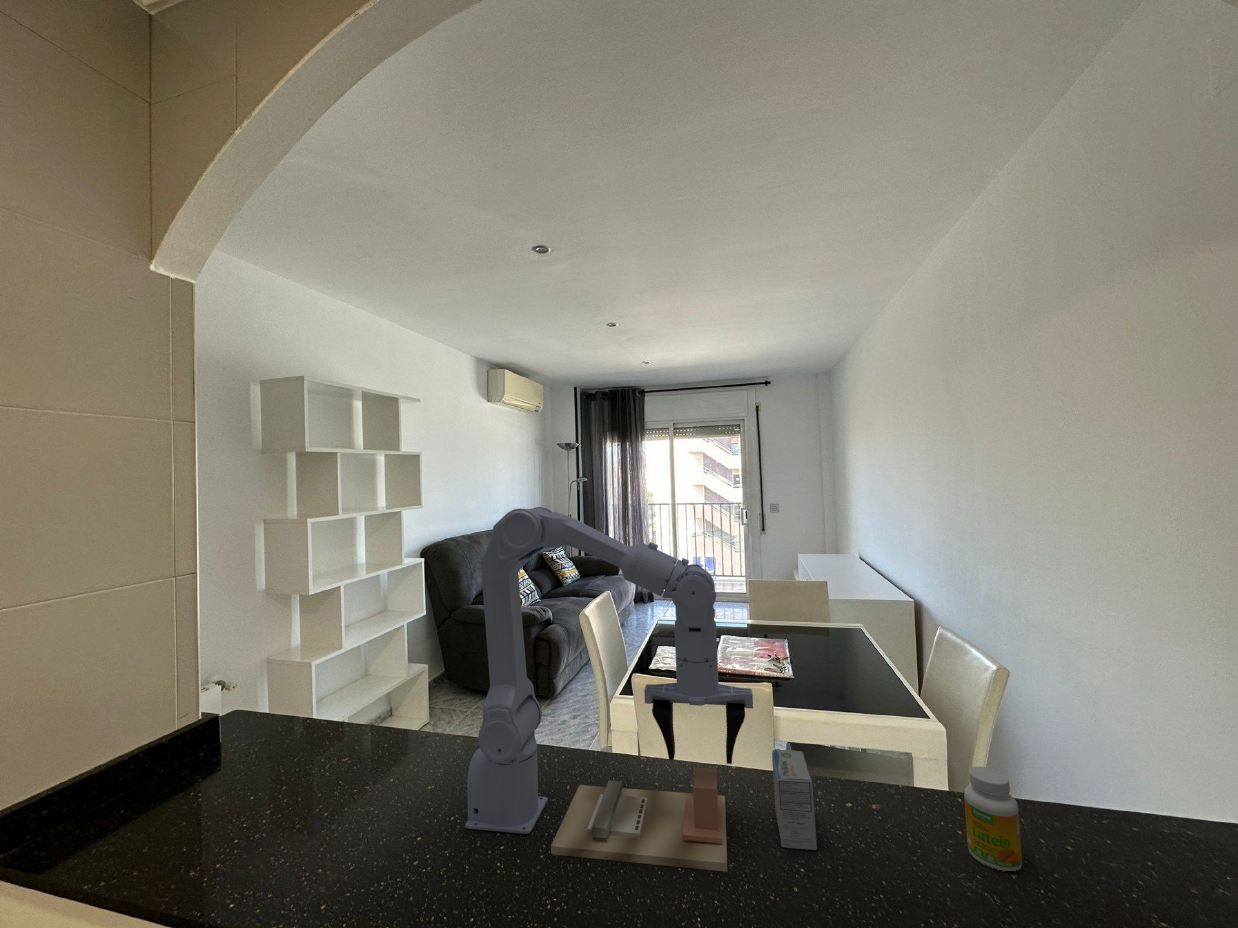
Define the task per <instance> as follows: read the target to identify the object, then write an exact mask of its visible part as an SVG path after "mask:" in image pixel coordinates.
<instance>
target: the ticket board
mask: <svg viewBox="0 0 1238 928" xmlns="http://www.w3.org/2000/svg"><path fill="white" fill-rule="evenodd" d="M717 795H718V794H717ZM686 798H687V799H694V798H693V792H692V793H691V792H678V791H677V792H676V791H664V790H652V789H651V790H650V789H637V788H624V787H623V781H622V780H621V781H620V780H608V782H607V784H606V786H596V785H587V784H586V785H585V784H584V785H583V784H579V785H578V787H577V789H576V791H575V794H574V796H573V798H572V800H571V802H570V804H569V807H568V809H567V810H566V812H565V813H566V814H564V817H563V819H562V821H561V823H560V826H559V828H558V830H557V832H556V835H555V836H554V837H553V841H552V843H551V845H550V854H551V855H555V856H564V857H565V856H567V857H576V858H584V859H598V860H604V861H605V860H606V861H615V862H626V863H636V864H647V865H656V866H665V867H675V868H677V867H678V868H686V869H695V870H705V871H715V872H716V871H717V872H724V873H725V872H726V873H728V853H727V852H728V851H727V845H728V844H727V821H726V820H727V816H726V812H727V811H726V795H721V794H719V795H718V801H722V842H723V843H712V842H701V841H690V840H683V839H682V833H683V823H684V813H685V802H686Z"/></svg>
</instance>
